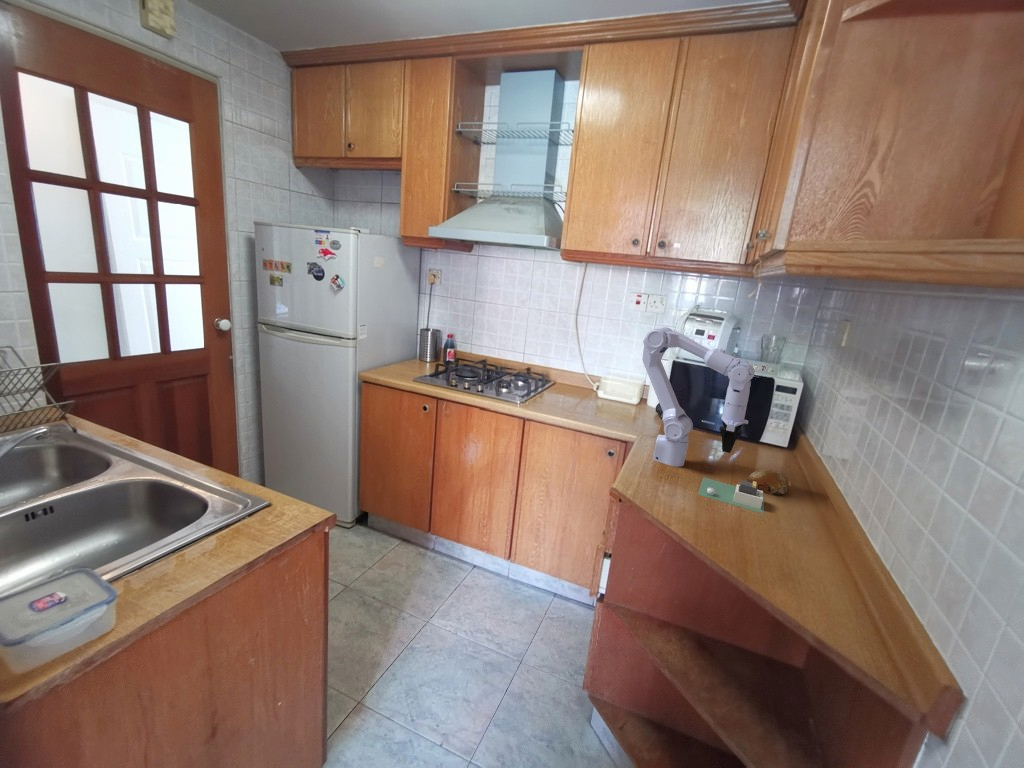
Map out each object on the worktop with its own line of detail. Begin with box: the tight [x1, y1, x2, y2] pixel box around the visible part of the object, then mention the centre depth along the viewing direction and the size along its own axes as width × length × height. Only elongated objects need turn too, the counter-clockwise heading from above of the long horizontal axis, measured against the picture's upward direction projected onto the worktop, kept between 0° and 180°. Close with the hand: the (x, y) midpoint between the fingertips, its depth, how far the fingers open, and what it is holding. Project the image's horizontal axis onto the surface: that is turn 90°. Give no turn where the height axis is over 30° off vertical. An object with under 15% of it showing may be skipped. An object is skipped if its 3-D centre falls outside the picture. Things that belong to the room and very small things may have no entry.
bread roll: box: [747, 468, 788, 497], centre depth 130 cm, size 10×10×8 cm
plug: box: [738, 479, 758, 496], centre depth 119 cm, size 4×3×6 cm
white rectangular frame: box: [733, 483, 764, 509], centre depth 120 cm, size 6×5×3 cm
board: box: [697, 476, 765, 514], centre depth 123 cm, size 16×13×2 cm
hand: (727, 447), depth 132 cm, fingers open, 7 cm apart
